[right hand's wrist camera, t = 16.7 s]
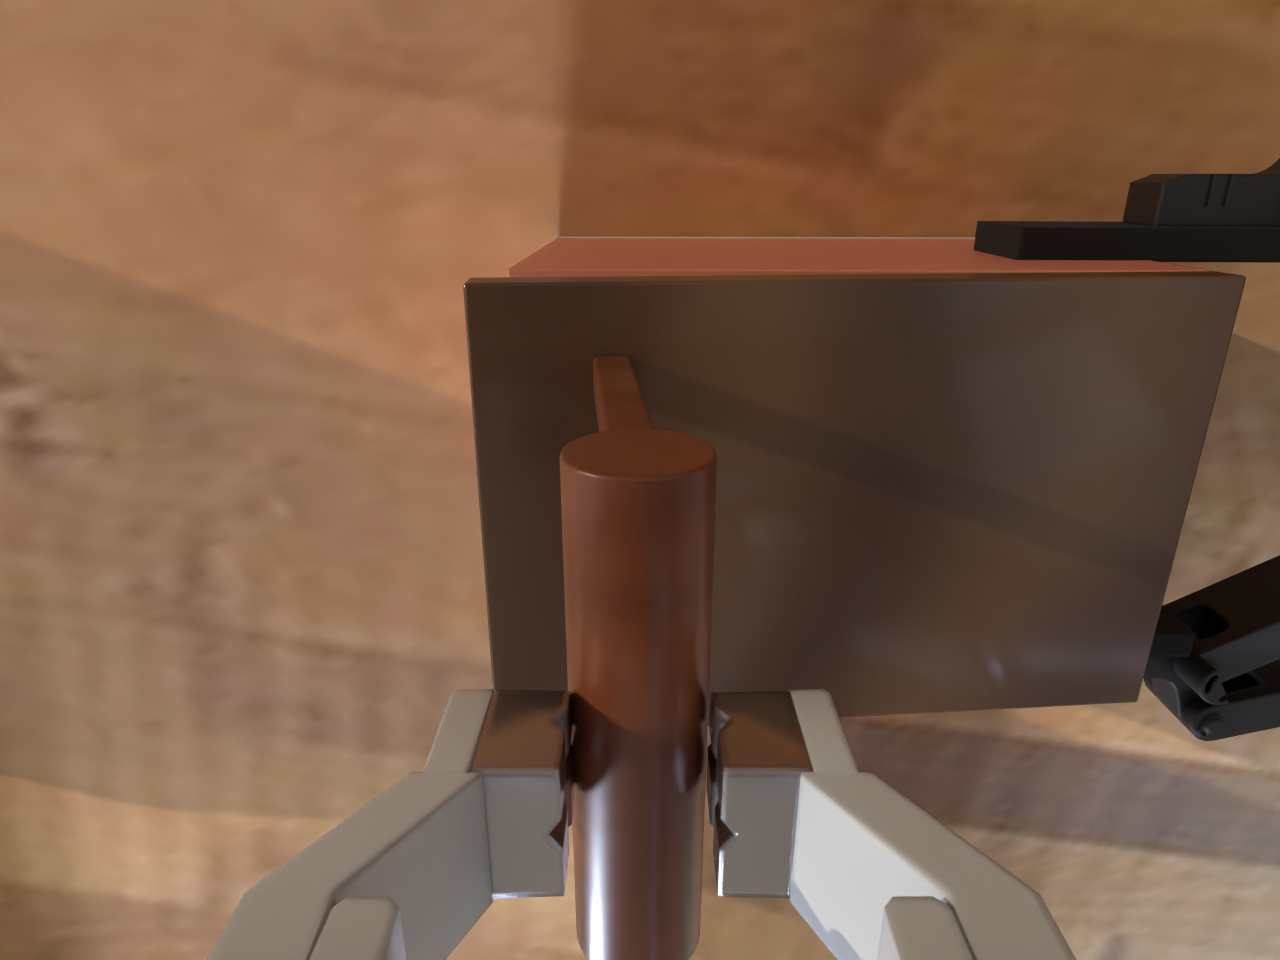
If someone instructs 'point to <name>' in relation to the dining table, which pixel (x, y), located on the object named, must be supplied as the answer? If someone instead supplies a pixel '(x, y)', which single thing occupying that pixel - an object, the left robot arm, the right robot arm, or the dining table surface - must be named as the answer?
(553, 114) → the dining table surface
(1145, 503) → the lid
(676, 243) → the chest
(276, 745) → the dining table surface
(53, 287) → the dining table surface
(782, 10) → the dining table surface
